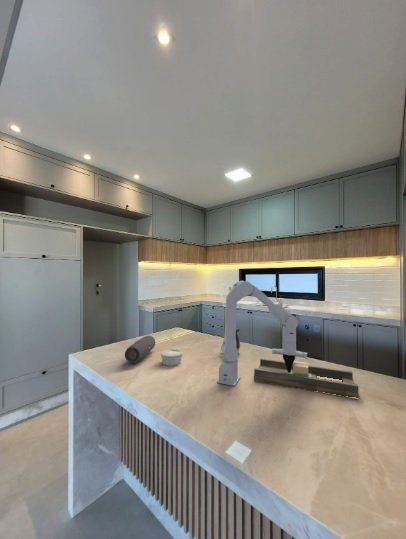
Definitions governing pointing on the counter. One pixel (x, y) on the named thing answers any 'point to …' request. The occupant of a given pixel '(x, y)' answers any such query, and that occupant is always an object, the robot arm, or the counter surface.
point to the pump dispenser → (236, 340)
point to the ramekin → (171, 357)
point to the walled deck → (307, 378)
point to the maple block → (300, 368)
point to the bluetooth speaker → (139, 349)
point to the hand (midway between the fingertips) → (289, 371)
